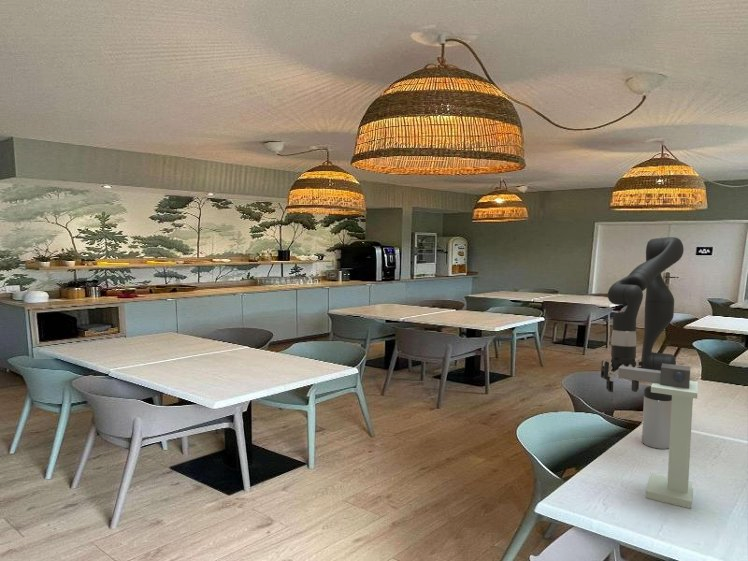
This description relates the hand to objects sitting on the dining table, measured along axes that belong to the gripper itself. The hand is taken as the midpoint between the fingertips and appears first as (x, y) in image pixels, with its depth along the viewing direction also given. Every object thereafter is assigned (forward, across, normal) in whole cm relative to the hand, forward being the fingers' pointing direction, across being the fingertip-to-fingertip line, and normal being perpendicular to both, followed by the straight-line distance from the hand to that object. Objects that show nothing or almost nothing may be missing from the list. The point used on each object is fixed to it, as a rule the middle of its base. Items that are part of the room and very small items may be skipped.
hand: (622, 391), depth 173 cm
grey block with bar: (-9, +5, +24) cm, 26 cm away
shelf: (+23, 0, +25) cm, 34 cm away
